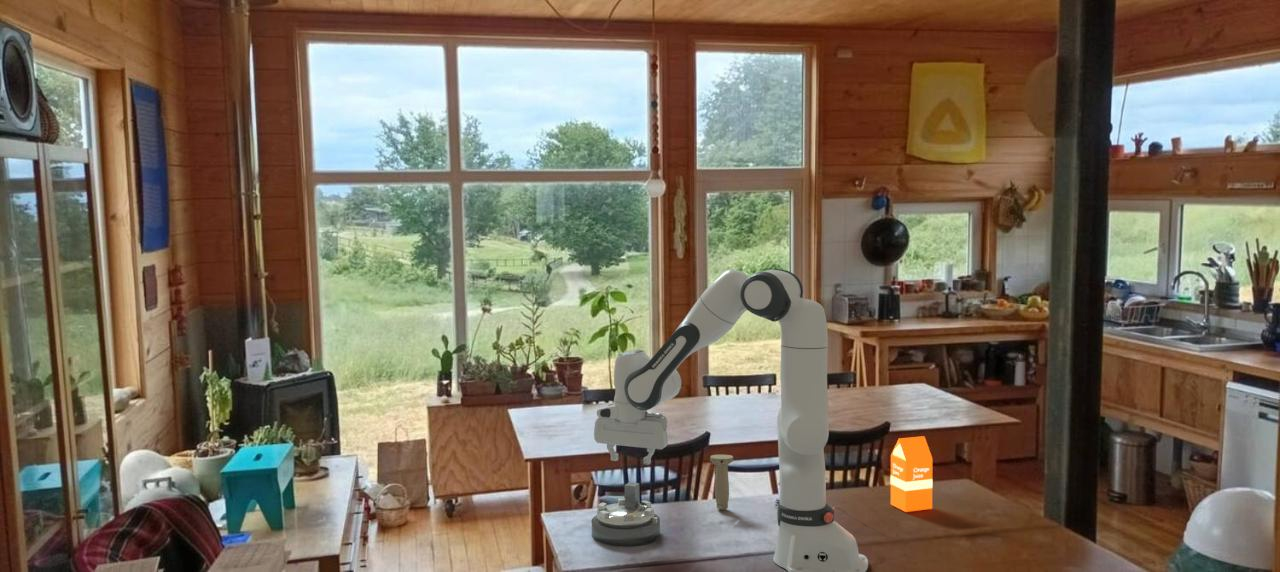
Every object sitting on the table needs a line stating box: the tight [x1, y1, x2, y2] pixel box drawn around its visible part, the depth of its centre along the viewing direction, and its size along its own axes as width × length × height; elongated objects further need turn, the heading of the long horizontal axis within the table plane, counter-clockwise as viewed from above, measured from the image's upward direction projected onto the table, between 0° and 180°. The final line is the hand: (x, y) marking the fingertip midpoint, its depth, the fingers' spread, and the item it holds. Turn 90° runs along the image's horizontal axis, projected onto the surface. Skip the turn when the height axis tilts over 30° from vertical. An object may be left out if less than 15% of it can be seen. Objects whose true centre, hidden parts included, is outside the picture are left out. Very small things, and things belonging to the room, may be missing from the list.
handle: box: [709, 454, 734, 510], centre depth 260 cm, size 5×6×15 cm
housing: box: [591, 513, 661, 548], centre depth 240 cm, size 18×18×6 cm
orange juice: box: [890, 435, 933, 513], centre depth 259 cm, size 8×9×20 cm
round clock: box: [596, 482, 655, 528], centre depth 239 cm, size 15×15×8 cm
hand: (630, 462), depth 243 cm, fingers open, 8 cm apart
